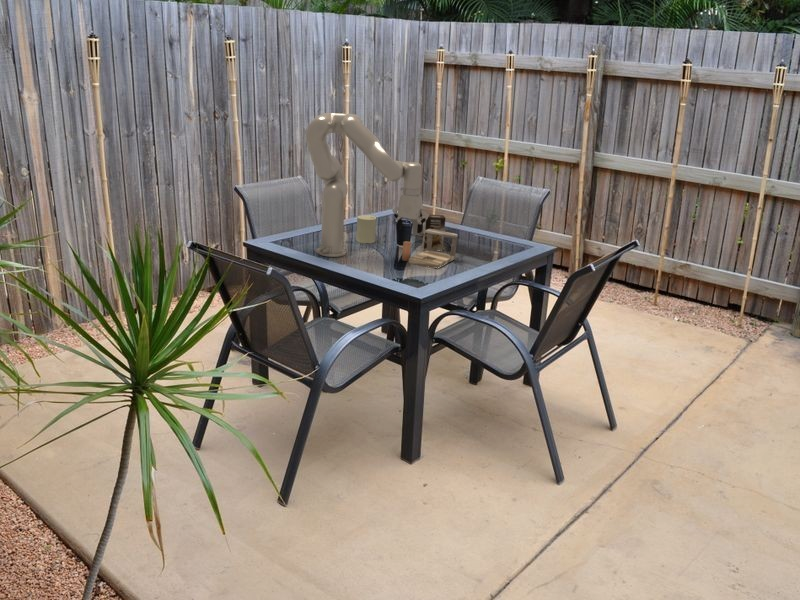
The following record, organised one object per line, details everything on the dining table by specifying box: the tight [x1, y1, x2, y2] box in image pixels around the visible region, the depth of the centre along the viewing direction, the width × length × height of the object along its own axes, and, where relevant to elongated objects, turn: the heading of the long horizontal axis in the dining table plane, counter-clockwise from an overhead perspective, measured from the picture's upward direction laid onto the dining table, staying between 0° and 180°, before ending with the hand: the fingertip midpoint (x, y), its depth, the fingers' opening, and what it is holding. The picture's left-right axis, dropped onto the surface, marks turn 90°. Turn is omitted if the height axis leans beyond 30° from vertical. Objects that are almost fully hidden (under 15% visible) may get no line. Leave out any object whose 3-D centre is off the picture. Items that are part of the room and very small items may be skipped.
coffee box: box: [421, 213, 446, 252], centre depth 340 cm, size 9×6×16 cm
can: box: [355, 214, 377, 244], centre depth 346 cm, size 9×9×12 cm
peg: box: [401, 241, 412, 262], centre depth 321 cm, size 3×3×8 cm
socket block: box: [408, 229, 458, 268], centre depth 321 cm, size 18×14×12 cm
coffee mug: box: [409, 214, 424, 237], centre depth 365 cm, size 13×10×10 cm
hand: (409, 230), depth 318 cm, fingers open, 9 cm apart
